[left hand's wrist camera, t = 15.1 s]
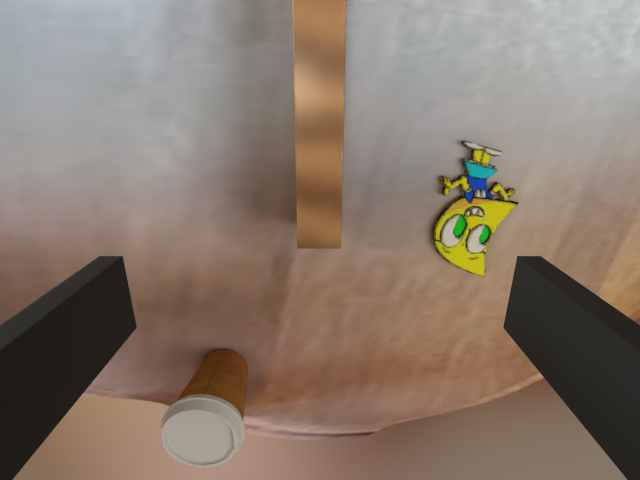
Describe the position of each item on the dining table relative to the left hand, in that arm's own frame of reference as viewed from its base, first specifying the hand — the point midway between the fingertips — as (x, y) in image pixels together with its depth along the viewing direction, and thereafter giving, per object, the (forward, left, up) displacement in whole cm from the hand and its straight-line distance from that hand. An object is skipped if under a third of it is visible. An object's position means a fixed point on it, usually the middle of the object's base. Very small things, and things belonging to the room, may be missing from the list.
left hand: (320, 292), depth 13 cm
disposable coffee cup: (-22, -24, -32) cm, 45 cm away
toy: (+15, -12, -32) cm, 37 cm away
